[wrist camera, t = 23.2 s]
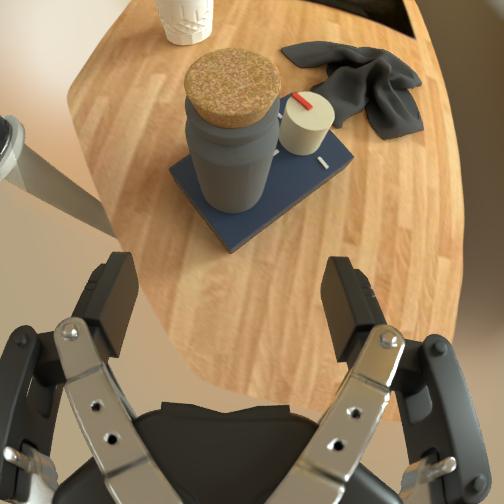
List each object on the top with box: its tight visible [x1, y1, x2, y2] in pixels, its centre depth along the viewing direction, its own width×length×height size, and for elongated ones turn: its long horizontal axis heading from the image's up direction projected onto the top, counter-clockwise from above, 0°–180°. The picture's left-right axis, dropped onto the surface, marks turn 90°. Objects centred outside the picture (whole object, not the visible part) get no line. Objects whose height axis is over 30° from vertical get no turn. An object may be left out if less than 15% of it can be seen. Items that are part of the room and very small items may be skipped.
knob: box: [278, 92, 335, 156], centre depth 26 cm, size 4×4×5 cm
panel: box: [169, 93, 354, 254], centre depth 29 cm, size 17×10×3 cm, turn 128°
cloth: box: [281, 41, 424, 140], centre depth 30 cm, size 22×19×6 cm
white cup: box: [155, 0, 213, 46], centre depth 28 cm, size 8×8×10 cm
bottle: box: [184, 48, 281, 214], centre depth 20 cm, size 6×6×15 cm
